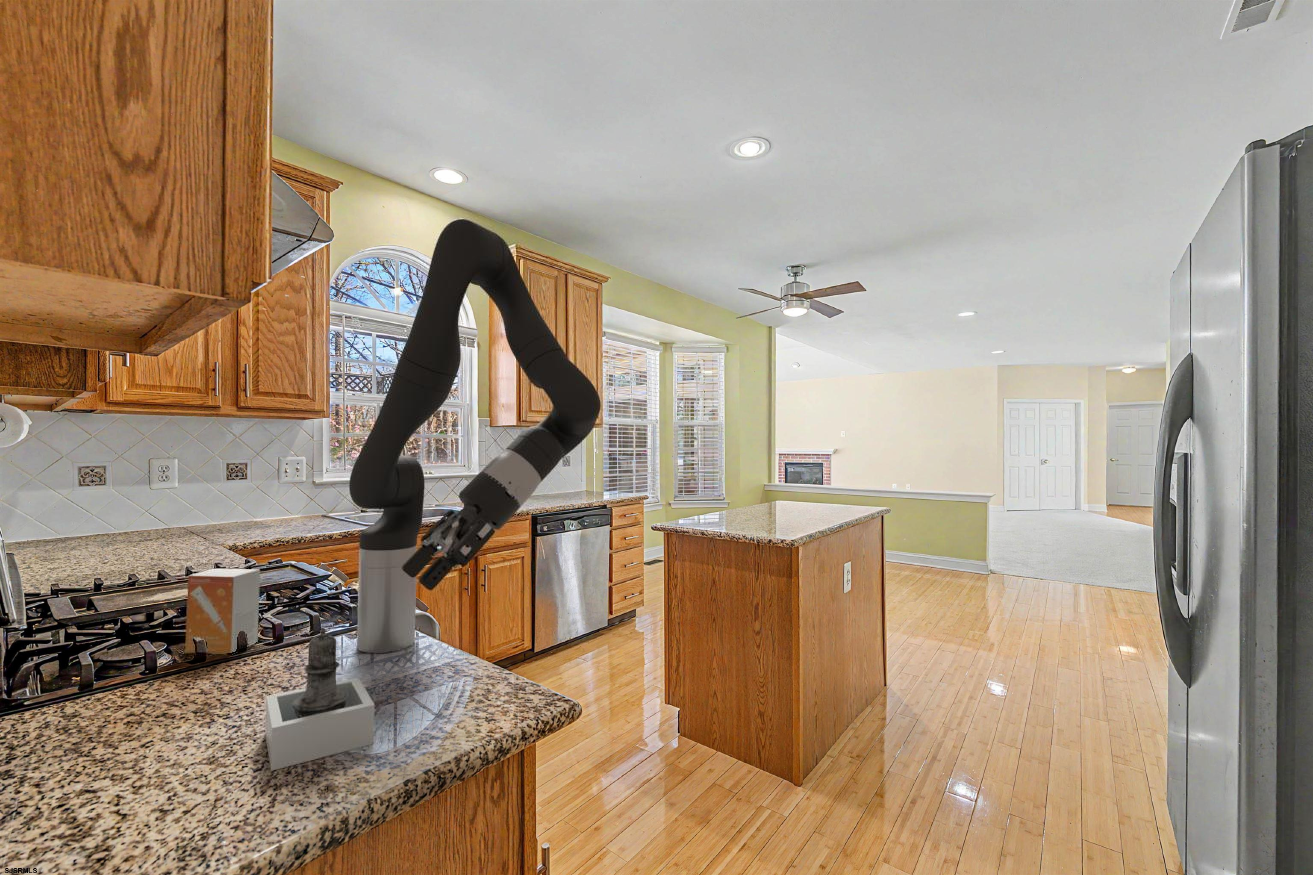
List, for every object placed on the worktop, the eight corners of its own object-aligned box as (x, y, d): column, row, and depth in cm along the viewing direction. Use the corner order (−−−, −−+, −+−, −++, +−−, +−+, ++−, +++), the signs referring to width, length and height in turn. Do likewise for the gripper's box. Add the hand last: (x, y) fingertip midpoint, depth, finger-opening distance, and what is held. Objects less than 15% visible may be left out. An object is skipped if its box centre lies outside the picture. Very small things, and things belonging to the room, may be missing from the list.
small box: (183, 654, 97) (186, 575, 97) (214, 641, 103) (216, 567, 103) (231, 655, 96) (233, 576, 97) (259, 642, 103) (261, 568, 103)
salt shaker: (322, 744, 66) (325, 636, 66) (278, 738, 67) (281, 633, 67) (359, 720, 72) (361, 622, 72) (317, 715, 73) (320, 618, 73)
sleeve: (265, 733, 70) (266, 695, 70) (357, 712, 76) (358, 677, 76) (270, 770, 62) (272, 728, 62) (373, 743, 68) (374, 704, 68)
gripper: (466, 468, 87) (381, 552, 80) (503, 472, 76) (407, 570, 68) (499, 502, 90) (420, 586, 83) (540, 511, 79) (452, 609, 72)
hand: (414, 579), depth 76 cm, fingers open, 8 cm apart
